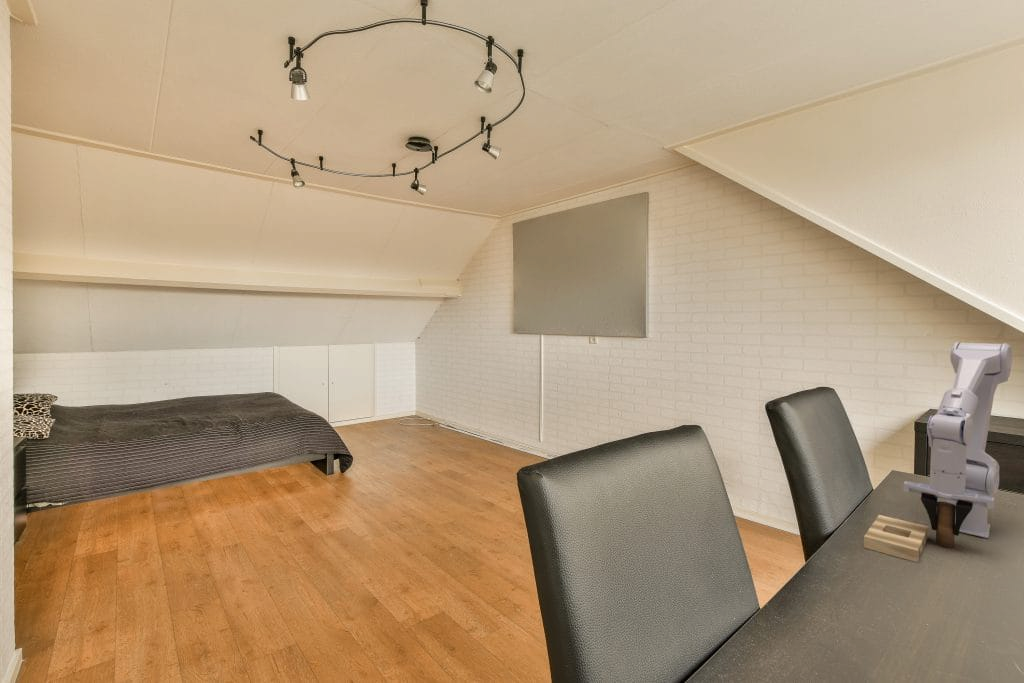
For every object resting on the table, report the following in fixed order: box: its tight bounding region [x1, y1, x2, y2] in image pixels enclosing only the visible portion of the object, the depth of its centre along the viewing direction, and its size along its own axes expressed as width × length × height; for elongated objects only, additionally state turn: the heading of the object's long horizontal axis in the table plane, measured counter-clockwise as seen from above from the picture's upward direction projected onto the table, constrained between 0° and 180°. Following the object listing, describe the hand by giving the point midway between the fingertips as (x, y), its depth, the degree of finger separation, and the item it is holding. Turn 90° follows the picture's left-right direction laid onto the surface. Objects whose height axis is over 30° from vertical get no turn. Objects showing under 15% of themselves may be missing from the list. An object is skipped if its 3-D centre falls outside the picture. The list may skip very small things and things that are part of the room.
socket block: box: [863, 514, 929, 563], centre depth 107 cm, size 16×9×2 cm, turn 134°
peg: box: [935, 501, 956, 549], centre depth 106 cm, size 3×3×9 cm
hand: (945, 531), depth 106 cm, fingers closed on peg, 3 cm apart
